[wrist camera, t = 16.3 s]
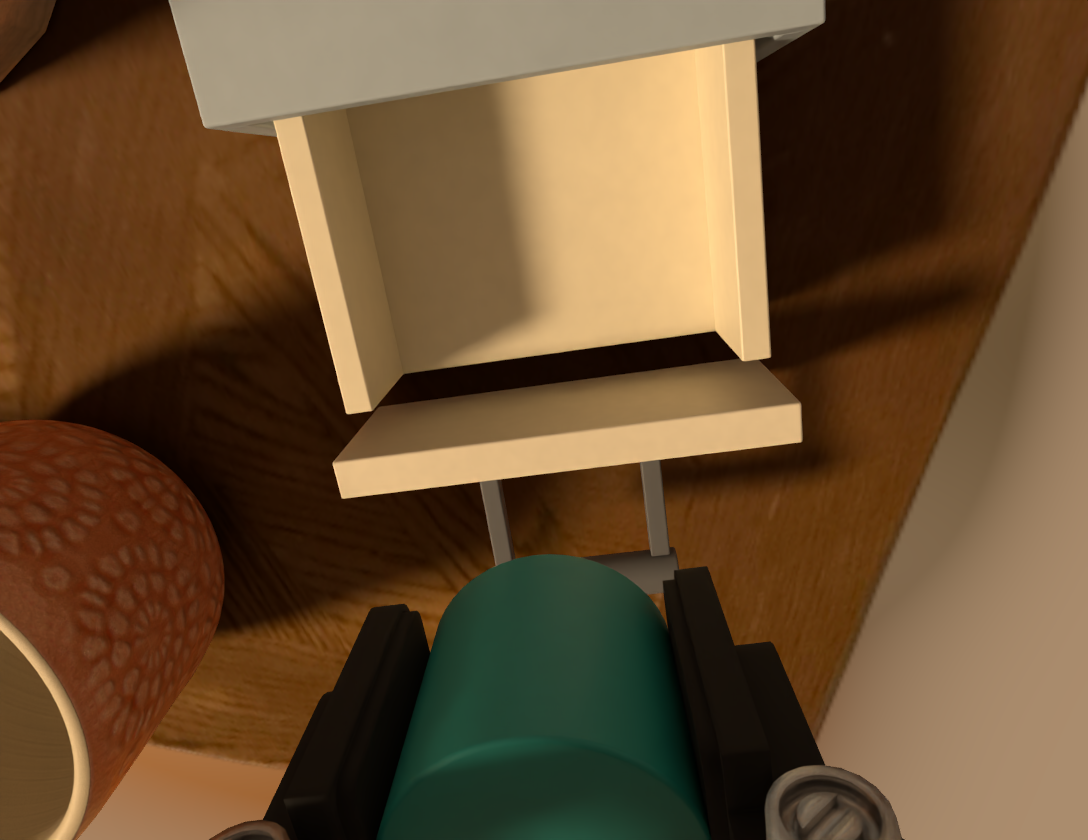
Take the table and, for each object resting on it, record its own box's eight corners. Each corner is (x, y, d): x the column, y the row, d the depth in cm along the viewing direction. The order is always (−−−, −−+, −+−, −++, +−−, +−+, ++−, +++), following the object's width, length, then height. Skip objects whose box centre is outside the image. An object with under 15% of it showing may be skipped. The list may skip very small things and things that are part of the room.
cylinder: (658, 537, 11) (701, 720, 8) (683, 739, 13) (731, 983, 9) (411, 568, 12) (335, 759, 8) (460, 762, 13) (414, 1007, 9)
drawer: (765, 522, 27) (809, 602, 22) (414, 562, 28) (380, 647, 23) (732, -55, 21) (782, -125, 16) (288, 26, 22) (205, -17, 17)
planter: (266, 678, 31) (114, 929, 21) (-20, 647, 31) (-313, 882, 21) (258, 405, 27) (64, 550, 17) (-71, 370, 27) (-467, 492, 17)
